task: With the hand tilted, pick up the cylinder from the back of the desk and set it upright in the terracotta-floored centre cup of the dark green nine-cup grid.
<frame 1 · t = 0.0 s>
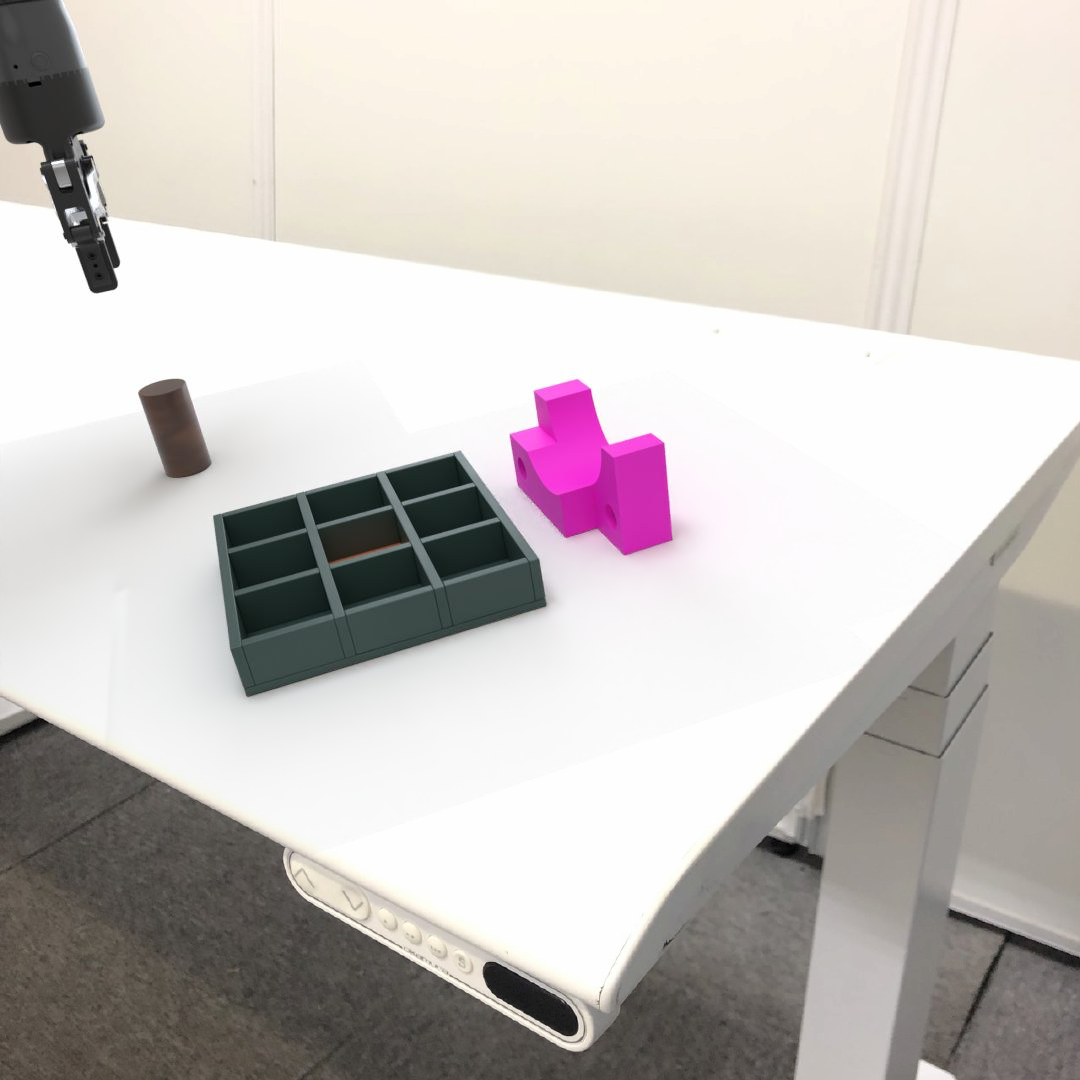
hand: (107, 279, 87), 18 cm above the table, tool pointing down, fingers open, 8 cm apart
grid: (373, 578, 73), on the table
cylinder: (188, 467, 96), on the table
toy block: (589, 512, 78), on the table
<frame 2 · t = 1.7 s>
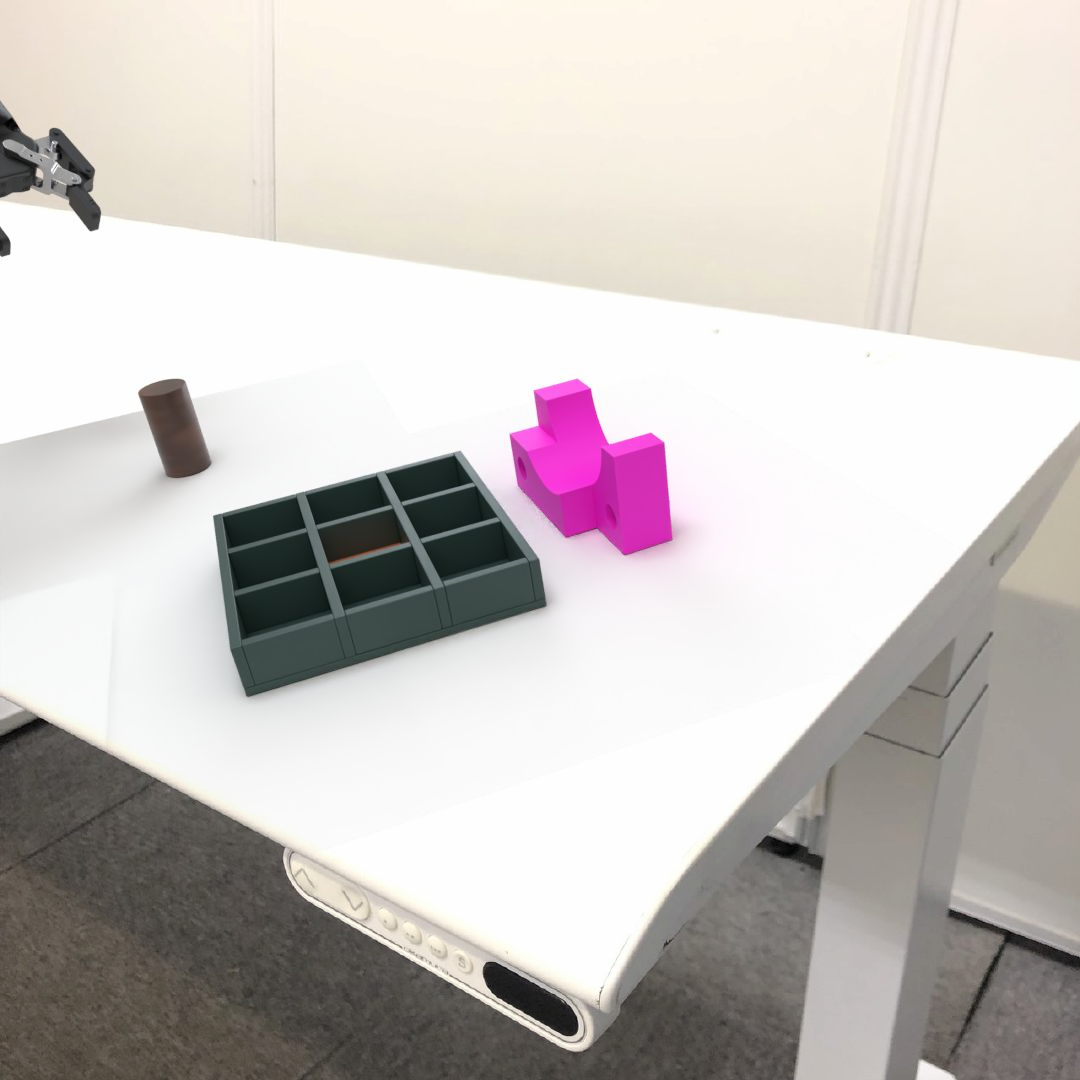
hand: (52, 237, 93), 21 cm above the table, tool tilted 45°, fingers open, 8 cm apart
nothing on the table moved.
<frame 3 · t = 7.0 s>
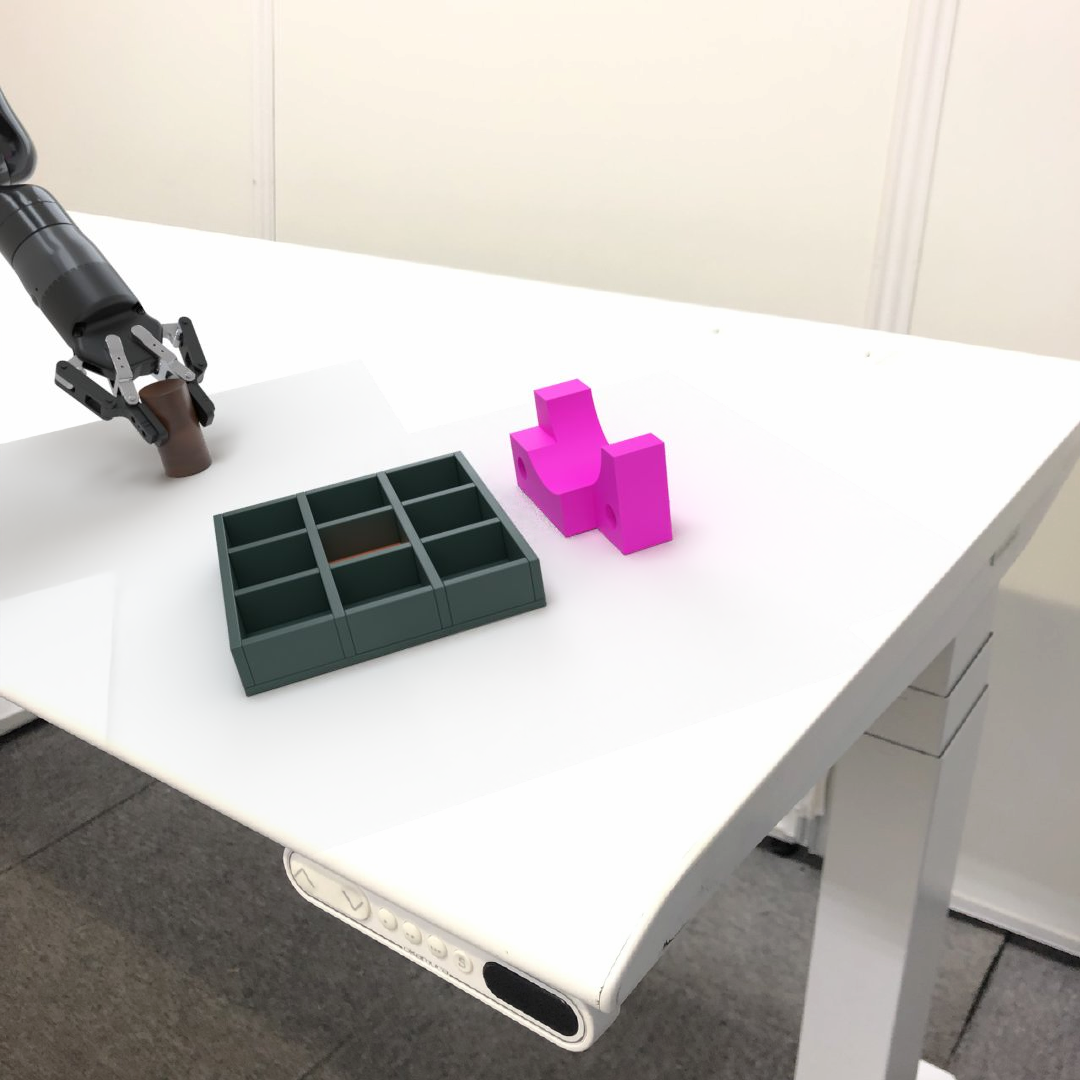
hand: (186, 430, 93), 4 cm above the table, tool tilted 45°, fingers closed on cylinder, 4 cm apart
cylinder: (189, 467, 96), on the table, touching gripper
everything else where it was.
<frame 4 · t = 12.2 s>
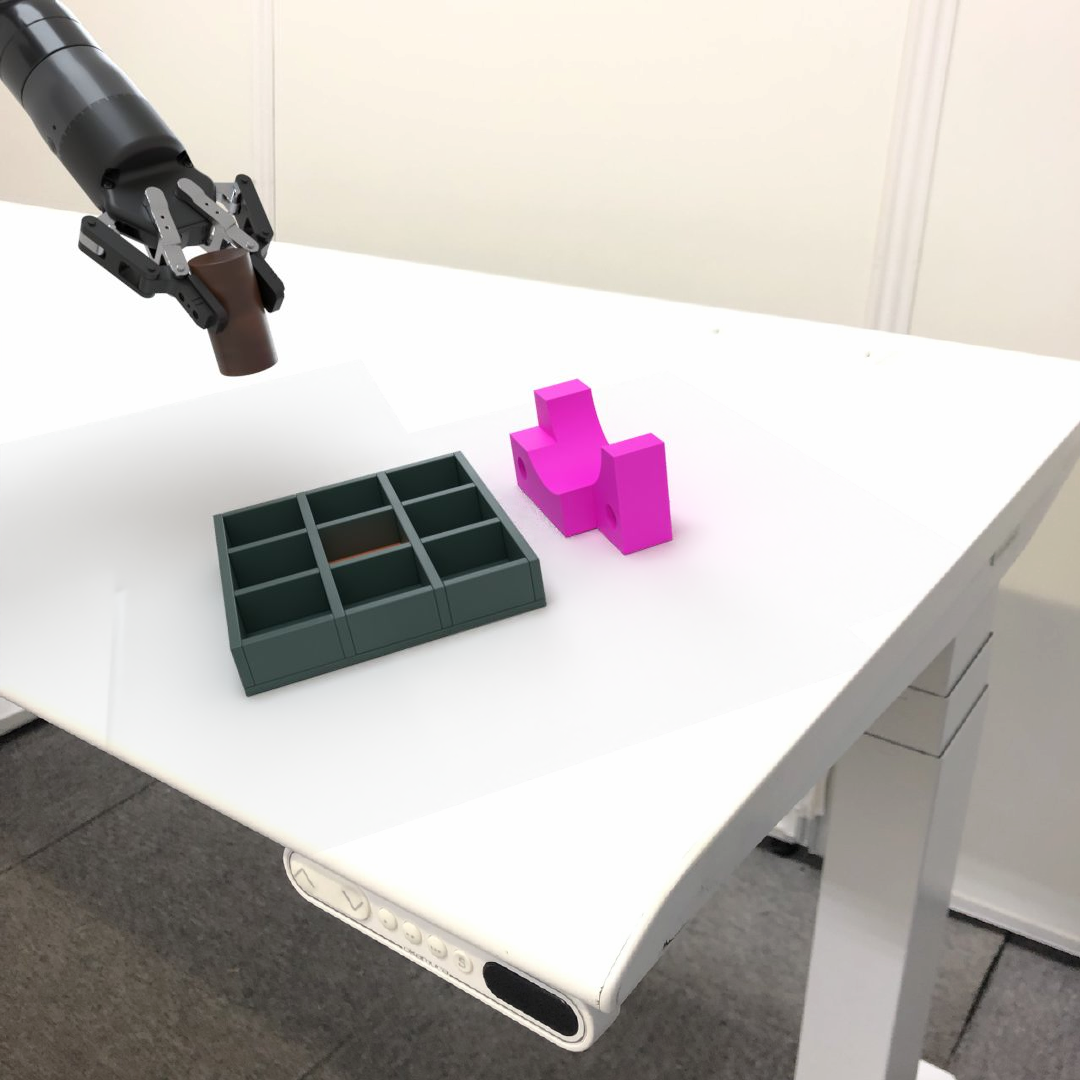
hand: (249, 314, 72), 18 cm above the table, tool tilted 45°, fingers closed on cylinder, 4 cm apart
cylinder: (249, 366, 75), point 14 cm above the table, touching gripper
everything else where it was.
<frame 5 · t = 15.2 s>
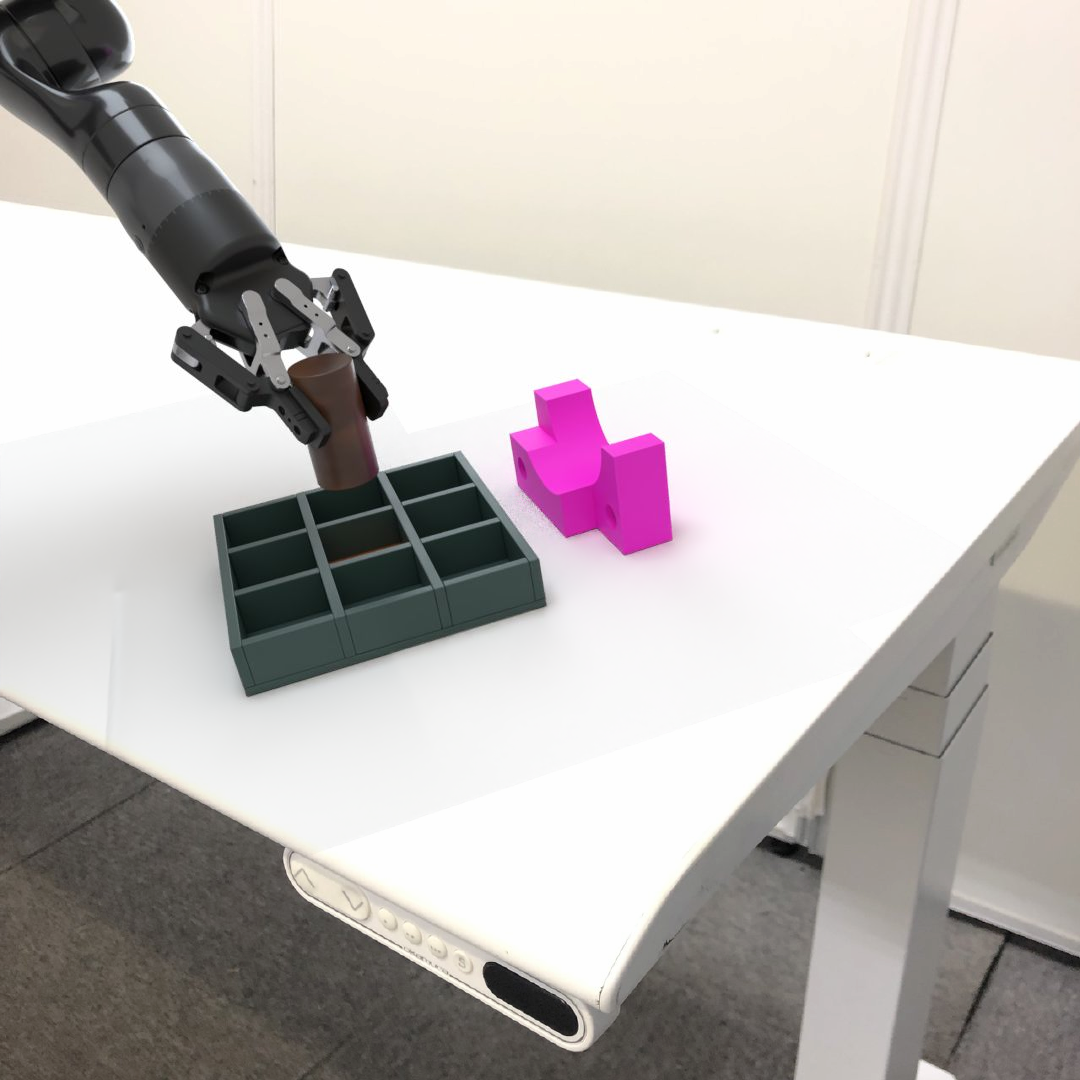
hand: (353, 425, 66), 12 cm above the table, tool tilted 45°, fingers closed on cylinder, 4 cm apart
cylinder: (348, 476, 69), point 8 cm above the table, touching gripper
everything else where it was.
when the fingers open (5 cm above the table, at t = 17.6 s): cylinder stays where it is, resting on grid.
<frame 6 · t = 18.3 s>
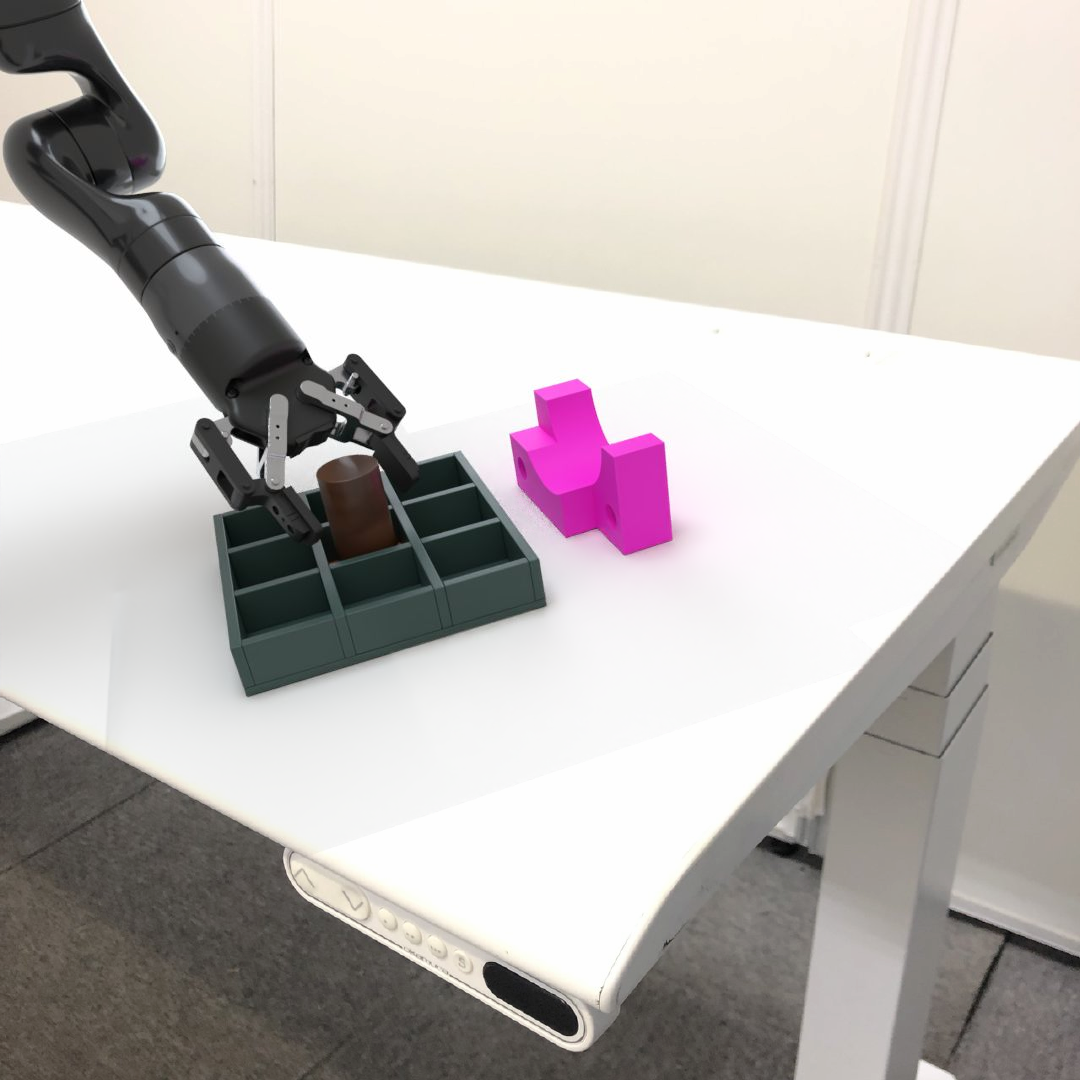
hand: (366, 511, 70), 6 cm above the table, tool tilted 45°, fingers open, 8 cm apart
cylinder: (372, 568, 73), point 1 cm above the table, touching grid
everything else where it was.
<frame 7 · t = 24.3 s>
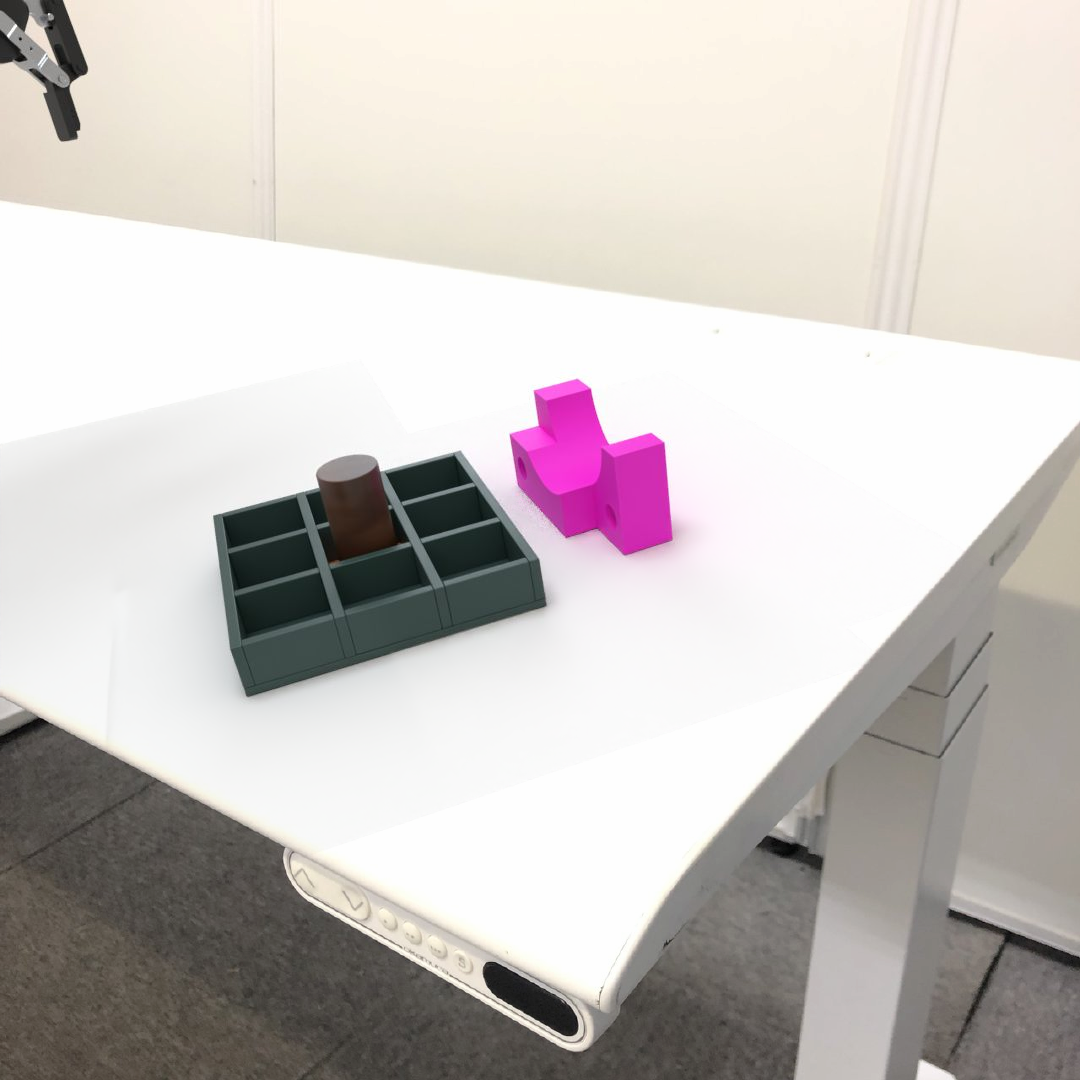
hand: (18, 150, 81), 29 cm above the table, tool pointing down, fingers open, 8 cm apart
nothing on the table moved.
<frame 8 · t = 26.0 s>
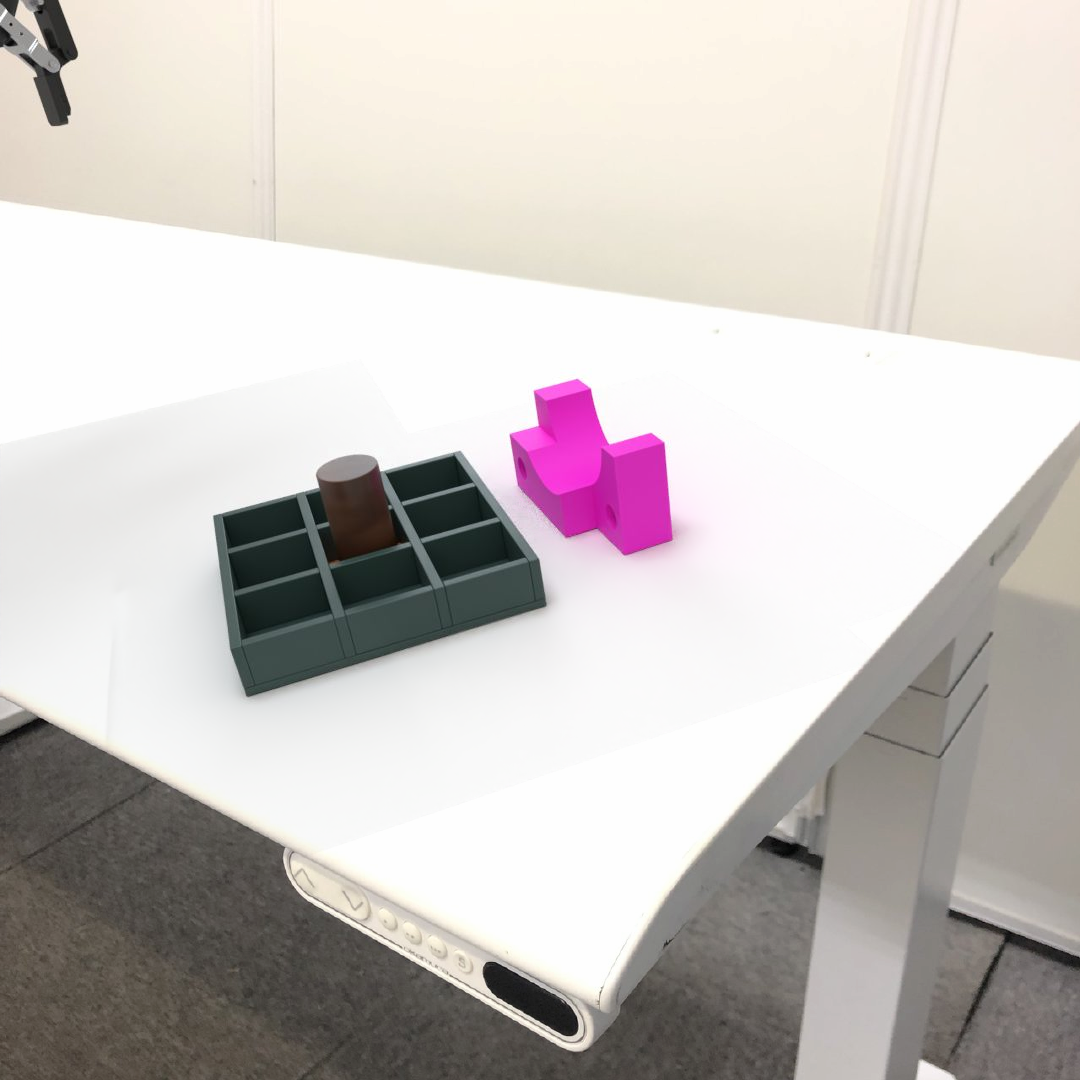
hand: (9, 135, 81), 30 cm above the table, tool pointing down, fingers open, 8 cm apart
nothing on the table moved.
at the end: cylinder 0.1 cm off-centre in the grid, point 0.8 cm above the grid's base; cylinder tilted 0°; the gripper is holding nothing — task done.
